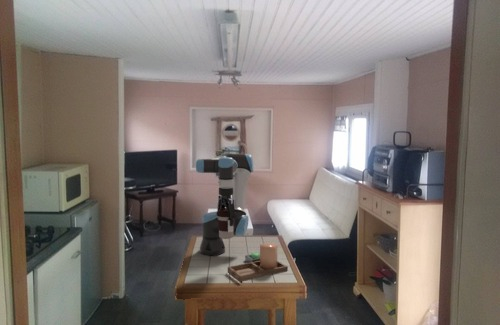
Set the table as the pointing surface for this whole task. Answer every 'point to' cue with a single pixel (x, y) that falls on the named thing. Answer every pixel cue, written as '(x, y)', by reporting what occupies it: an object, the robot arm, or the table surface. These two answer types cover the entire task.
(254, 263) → the divided tray
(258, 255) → the button
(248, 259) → the grey square frame
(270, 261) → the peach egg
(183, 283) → the table surface
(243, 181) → the robot arm
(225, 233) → the coffee cup
